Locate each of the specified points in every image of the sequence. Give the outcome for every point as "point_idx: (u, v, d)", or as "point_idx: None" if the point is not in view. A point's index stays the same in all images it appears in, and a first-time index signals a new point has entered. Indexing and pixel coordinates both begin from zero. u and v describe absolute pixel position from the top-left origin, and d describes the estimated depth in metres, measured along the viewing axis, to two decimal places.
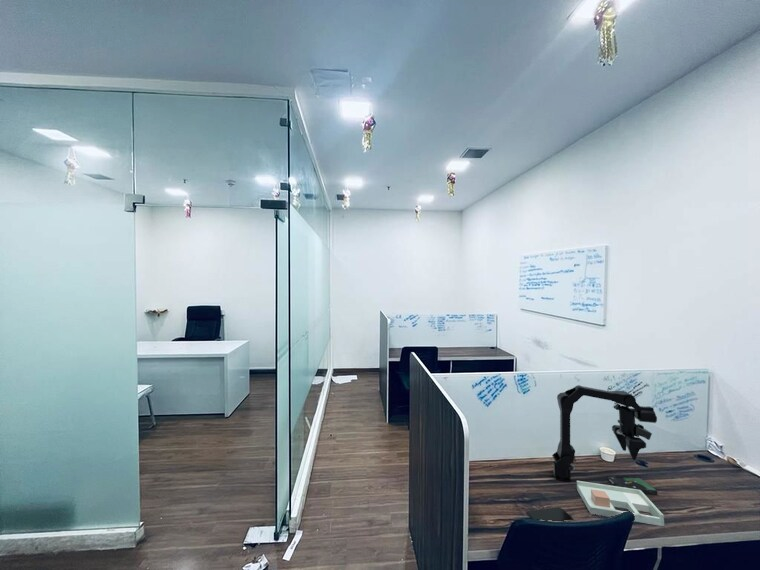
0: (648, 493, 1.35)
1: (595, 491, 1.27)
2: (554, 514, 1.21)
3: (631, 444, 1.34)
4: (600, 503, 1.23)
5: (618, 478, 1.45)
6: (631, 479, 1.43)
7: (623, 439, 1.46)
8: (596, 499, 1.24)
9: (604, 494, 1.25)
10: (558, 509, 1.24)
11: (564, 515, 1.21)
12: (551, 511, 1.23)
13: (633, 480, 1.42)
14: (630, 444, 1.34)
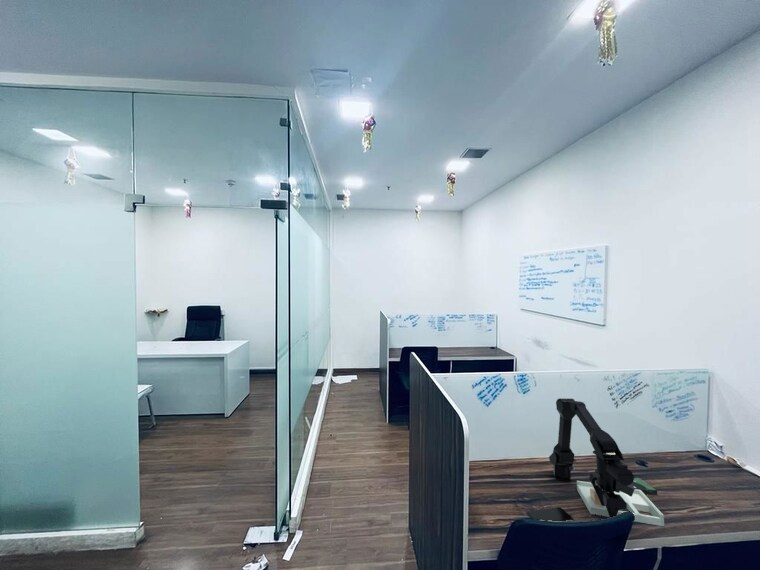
0: (648, 493, 1.35)
1: (594, 490, 1.28)
2: (554, 514, 1.21)
3: (609, 504, 1.11)
4: (599, 502, 1.24)
5: None
6: None
7: (602, 492, 1.23)
8: (595, 498, 1.25)
9: None
10: (558, 509, 1.24)
11: (564, 515, 1.21)
12: (551, 511, 1.23)
13: None
14: (608, 504, 1.11)
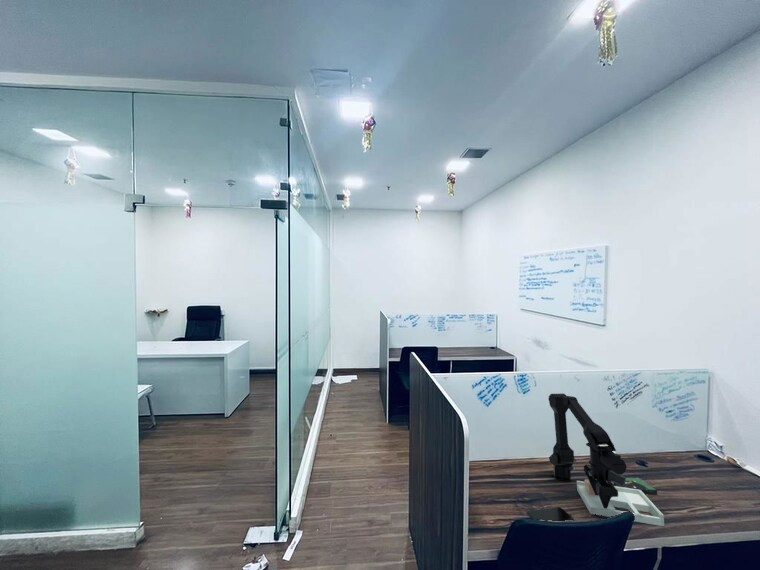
0: (648, 493, 1.35)
1: (588, 481, 1.35)
2: (554, 514, 1.21)
3: (601, 492, 1.17)
4: (593, 492, 1.31)
5: None
6: (630, 479, 1.44)
7: (595, 482, 1.30)
8: (589, 488, 1.31)
9: None
10: (558, 509, 1.24)
11: (564, 515, 1.21)
12: (551, 511, 1.23)
13: (632, 480, 1.43)
14: (600, 492, 1.18)
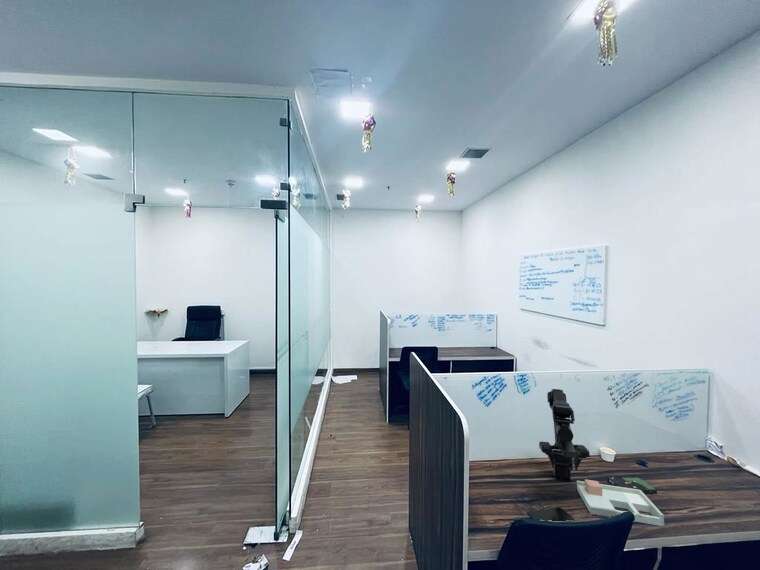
0: (648, 493, 1.35)
1: (588, 481, 1.35)
2: (554, 514, 1.21)
3: (539, 445, 1.41)
4: (593, 492, 1.31)
5: (617, 478, 1.44)
6: (630, 479, 1.44)
7: (576, 458, 1.35)
8: (589, 488, 1.31)
9: (597, 483, 1.33)
10: (559, 509, 1.24)
11: (565, 515, 1.21)
12: (551, 511, 1.23)
13: (632, 480, 1.43)
14: None
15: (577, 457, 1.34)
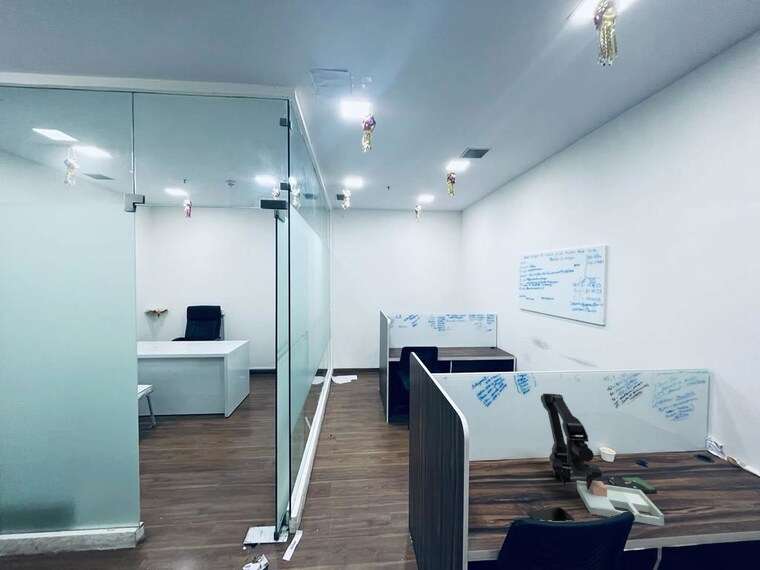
0: (648, 493, 1.35)
1: (593, 481, 1.34)
2: (554, 514, 1.21)
3: (550, 462, 1.40)
4: (598, 492, 1.30)
5: (617, 478, 1.44)
6: (630, 479, 1.44)
7: (587, 477, 1.33)
8: (594, 489, 1.31)
9: (602, 484, 1.32)
10: (559, 509, 1.24)
11: (565, 515, 1.21)
12: (552, 511, 1.23)
13: (632, 480, 1.43)
14: None
15: (589, 476, 1.32)
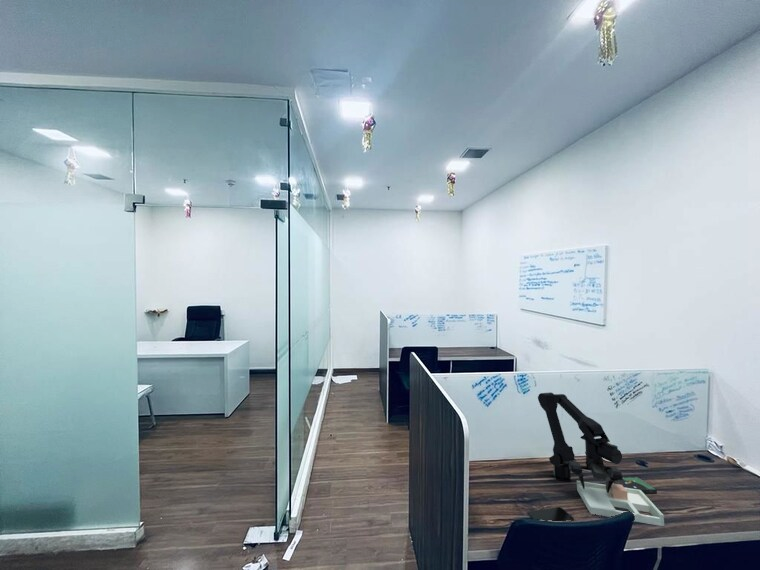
0: (648, 493, 1.35)
1: (612, 484, 1.32)
2: (555, 514, 1.21)
3: (568, 464, 1.38)
4: (618, 496, 1.28)
5: None
6: (630, 479, 1.44)
7: (607, 480, 1.31)
8: (614, 492, 1.29)
9: (622, 487, 1.30)
10: (559, 509, 1.24)
11: (565, 515, 1.21)
12: (552, 511, 1.23)
13: (631, 480, 1.43)
14: None
15: (608, 479, 1.30)
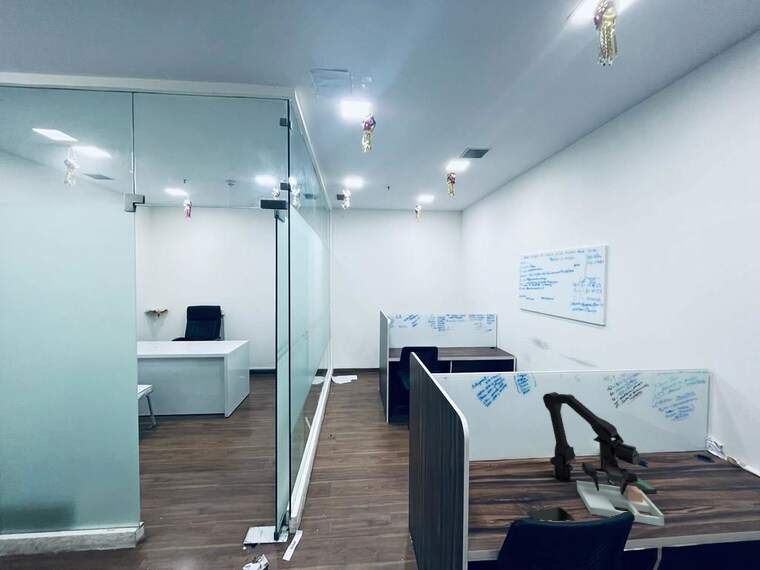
0: (648, 492, 1.35)
1: (627, 486, 1.31)
2: (555, 514, 1.21)
3: (582, 466, 1.36)
4: (633, 498, 1.27)
5: None
6: None
7: (621, 482, 1.30)
8: (629, 494, 1.27)
9: (636, 489, 1.29)
10: (559, 509, 1.24)
11: (565, 515, 1.21)
12: (552, 511, 1.23)
13: None
14: None
15: (623, 481, 1.29)
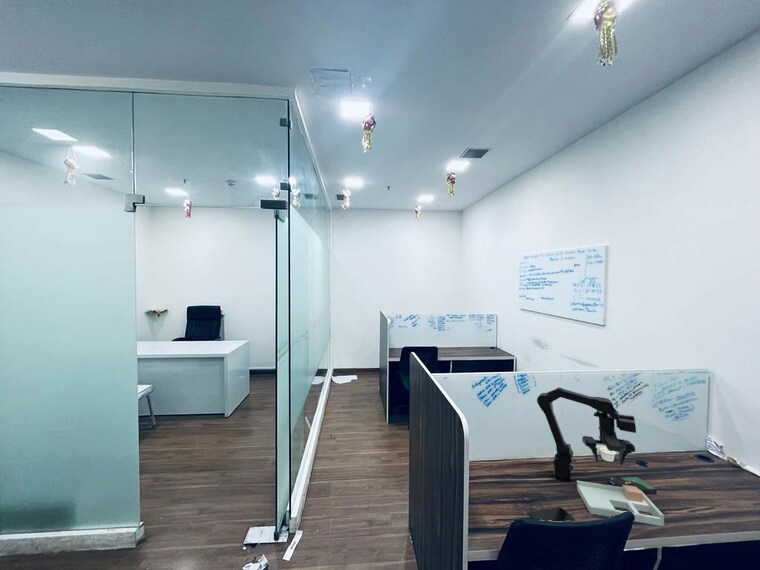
0: (648, 492, 1.35)
1: (627, 486, 1.31)
2: (555, 514, 1.21)
3: (582, 439, 1.44)
4: (633, 498, 1.27)
5: (617, 478, 1.44)
6: (629, 479, 1.44)
7: (620, 453, 1.38)
8: (629, 494, 1.27)
9: (636, 489, 1.29)
10: (559, 509, 1.24)
11: (565, 515, 1.21)
12: (552, 511, 1.23)
13: (631, 480, 1.43)
14: None
15: (622, 452, 1.36)
